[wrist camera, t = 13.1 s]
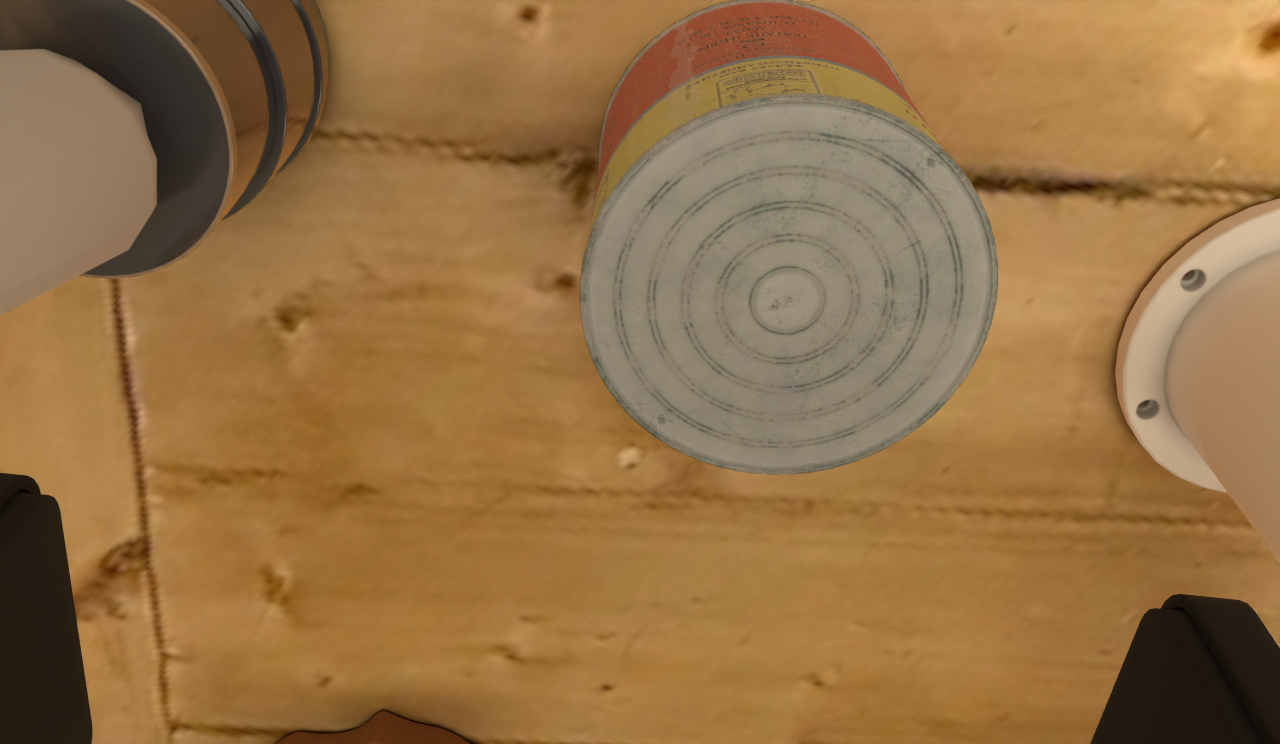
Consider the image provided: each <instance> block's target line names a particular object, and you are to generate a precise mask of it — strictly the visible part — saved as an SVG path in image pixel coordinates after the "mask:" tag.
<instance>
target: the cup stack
mask: <svg viewBox="0 0 1280 744" xmlns="http://www.w3.org/2000/svg"><path fill="white" fill-rule="evenodd" d="M27 49H45V50H48V51H51V52H54V53H56V54H59V55H62V56H65V57H67V58H70V59H73V60H76V61H78V62H80V63H81V64H83V65H84V66H86V67H87V68H89V69H90V70H92V71H94V72H96V73H97V74H98V75H100V76H101V77H103V78H104V79H105V80H107V81H108V82H109V83H111V84H112V85H114V86H115V87H117V88H118V89H120V90H121V91H123V92H124V93H126V94H127V95H129V96H130V97H132V98H133V99H135V100H136V101H138V102H139V103H141V107H142V112H143V116H144V121H145V126H146V130H147V135H148V138H149V141H150V143H151V146H152V148H153V150H154V153H155V155H156V158H157V205H156V207H155V209H154V210H153V212H152V214H151V216H150V217H149V219H148V220H147V222H146V223H145V225H144V227H143V228H142V230H141V231H140V233H139V234H138V236H137V237H136V239H135V241H134V242H133V244H132V245H131V247H130V248H129V250H127V251H125V252H123V253H121V254H120V255H118V256H116V257H114V258H112V259H110V260H108V261H106V262H104V263H102V264H100V265H98V266H96V267H95V268H93V269H91V270H89V271H87V272H85V273H83V274H81V275H79V276H85V277H92V278H112V279H114V278H126V277H135V276H139V275H144V274H148V273H152V272H155V271H157V270H160V269H163V268H165V267H168V266H170V265H172V264H173V263H175V262H177V261H179V260H181V259H183V258H184V257H185V256H187V255H188V254H189V253H190V252H192V251H193V250H194V249H196V248H197V247H198V246H199V245H200V244H201V243H202V242H203V241H204V240H205V238H206V237H207V236H208V235H209V234H210V233H211V232H212V231H213V229H214V228H215V227H216V226H217V225H218V224H219V222H220V221H222V220H224V219H226V218H228V217H230V216H232V215H233V214H235V213H237V212H238V211H239V210H241V209H242V208H243V207H245V206H246V205H247V204H249V203H250V202H251V201H252V200H253V199H254V198H255V197H256V195H257V194H258V193H259V192H260V191H261V190H262V189H263V188H264V187H265V186H266V184H267V183H268V182H269V181H270V180H271V179H272V178H273V177H274V176H275V175H277V174H278V173H279V172H281V171H282V170H283V169H285V168H286V167H287V166H288V165H289V164H290V163H291V162H292V161H293V160H294V159H295V158H296V156H297V155H298V154H299V153H300V152H301V151H302V149H303V148H304V147H305V145H306V144H307V142H308V141H309V139H310V138H311V137H312V135H313V133H314V131H315V129H316V127H317V125H318V123H319V120H320V117H321V114H322V111H323V108H324V104H325V98H326V92H327V84H328V78H329V63H330V57H329V46H328V39H327V35H326V30H325V26H324V23H323V20H322V17H321V14H320V12H319V9H318V7H317V5H316V2H315V0H0V50H27Z"/></svg>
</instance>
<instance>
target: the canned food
mask: <svg viewBox="0 0 1280 744" xmlns="http://www.w3.org/2000/svg"><path fill="white" fill-rule="evenodd" d="M997 289H998V260H997V252H996V245H995V240H994V236H993V232H992V227H991V225H990V222H989V219H988V216H987V213H986V210H985V208H984V206H983V204H982V202H981V200H980V198H979V196H978V194H977V192H976V190H975V189H974V187H973V186H972V184H971V182H970V181H969V179H968V178H967V176H966V175H965V173H964V172H963V171H962V169H961V168H960V167H959V166H958V165H957V163H956V162H955V161H954V160H953V158H952V157H951V156H950V155H949V154H948V153H947V152H946V151H945V150H944V149H943V147H942V146H941V144H940V143H939V141H938V140H937V138H936V137H935V135H934V134H933V132H932V131H931V129H930V128H929V126H928V125H927V123H926V122H925V120H924V119H923V117H922V116H921V114H920V113H919V111H918V110H917V108H916V107H915V105H914V104H913V102H912V101H911V99H910V98H909V96H908V95H907V93H906V92H905V90H904V87H903V85H902V83H901V81H900V79H899V77H898V75H897V73H896V72H895V70H894V69H893V67H892V66H891V64H890V62H889V61H888V59H887V58H886V57H885V56H884V54H883V53H882V52H881V51H880V49H879V48H878V47H877V46H876V45H875V44H874V43H873V42H872V41H871V40H870V39H869V38H868V37H867V36H866V35H864V34H863V33H862V32H861V31H859V30H858V29H857V28H856V27H854V26H853V25H851V24H850V23H848V22H847V21H845V20H844V19H842V18H840V17H838V16H836V15H834V14H832V13H830V12H828V11H826V10H823V9H821V8H818V7H815V6H813V5H809V4H806V3H802V2H798V1H793V0H734V1H729V2H725V3H721V4H717V5H713V6H711V7H708V8H705V9H702V10H700V11H697V12H695V13H693V14H691V15H689V16H687V17H685V18H683V19H681V20H680V21H678V22H676V23H675V24H673V25H671V26H670V27H669V28H667V29H666V30H665V31H663V32H662V33H661V34H659V35H658V36H657V37H656V38H654V39H653V40H652V41H651V42H650V43H649V44H648V45H647V46H646V47H645V48H644V49H643V50H642V51H641V52H640V53H639V54H638V55H637V57H636V58H635V59H634V60H633V61H632V63H631V64H630V66H629V67H628V68H627V70H626V71H625V72H624V74H623V76H622V77H621V79H620V81H619V83H618V84H617V86H616V88H615V90H614V93H613V95H612V97H611V99H610V102H609V105H608V107H607V110H606V113H605V117H604V121H603V125H602V130H601V137H600V145H599V172H598V179H597V186H596V193H595V201H594V208H593V215H592V223H591V230H590V235H589V238H588V241H587V245H586V249H585V253H584V257H583V262H582V269H581V276H580V294H579V302H580V314H581V322H582V327H583V332H584V337H585V340H586V343H587V347H588V350H589V353H590V356H591V358H592V360H593V363H594V365H595V367H596V370H597V371H598V373H599V375H600V377H601V379H602V380H603V382H604V384H605V386H606V387H607V389H608V390H609V391H610V393H611V394H612V396H613V397H614V398H615V400H616V401H617V402H618V403H619V405H620V406H621V407H622V408H623V409H624V410H625V411H626V413H627V414H628V415H629V416H630V417H631V418H632V419H634V420H635V421H636V422H637V423H638V424H639V425H640V426H641V427H642V428H644V429H645V430H646V431H647V432H649V433H650V434H651V435H653V436H654V437H655V438H657V439H658V440H660V441H662V442H663V443H665V444H666V445H668V446H669V447H671V448H673V449H675V450H677V451H679V452H681V453H683V454H685V455H687V456H689V457H692V458H694V459H697V460H699V461H702V462H704V463H708V464H711V465H714V466H717V467H720V468H725V469H730V470H734V471H739V472H746V473H754V474H769V475H786V474H801V473H810V472H816V471H821V470H826V469H832V468H835V467H839V466H842V465H846V464H849V463H852V462H855V461H858V460H860V459H863V458H866V457H868V456H871V455H873V454H875V453H877V452H879V451H881V450H883V449H886V448H887V447H889V446H891V445H893V444H894V443H896V442H898V441H899V440H901V439H903V438H904V437H906V436H907V435H909V434H910V433H912V432H913V431H914V430H916V429H917V428H919V427H920V426H921V425H922V424H923V423H925V422H926V421H927V420H928V419H930V418H931V417H932V416H933V415H934V414H935V413H936V412H937V411H938V410H939V409H940V408H941V407H942V406H943V405H944V404H945V403H946V402H947V401H948V400H949V399H950V398H951V396H952V395H953V394H954V393H955V392H956V390H957V389H958V388H959V387H960V385H961V384H962V382H963V381H964V379H965V378H966V377H967V375H968V374H969V372H970V371H971V369H972V367H973V365H974V363H975V362H976V360H977V358H978V356H979V354H980V352H981V350H982V347H983V345H984V343H985V341H986V338H987V335H988V332H989V329H990V326H991V323H992V319H993V315H994V310H995V305H996V299H997Z"/></svg>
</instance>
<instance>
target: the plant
mask: <svg viewBox="0 0 1280 744" xmlns="http://www.w3.org/2000/svg"><path fill="white" fill-rule="evenodd" d="M275 744H471V743H469V742H467V741H465V740H464V739H463V738H461V737H459V736H457V735H455V734H453V733H451V732H449V731H447V730H445V729H442V728H439V727H434V726H429V725H424V724H419V723H415V722H412V721H409V720H406V719H404V718H401V717H398V716H396V715H394V714H392V713H390V712H387V711H381V712H379V713H377V714H376V715H375V716H374V717H373V718H371V719H370V720H369V721H368V722H367V723H366V724H364V725H363V726H361V727H359V728H356V729H354V730H351V731H347V732H342V733H332V734H317V733H309V732H296V733H293V734H291V735H289V736H287V737H285V738H283V739H281V740H279V741H278V742H276V743H275Z"/></svg>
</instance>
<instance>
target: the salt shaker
mask: <svg viewBox="0 0 1280 744" xmlns="http://www.w3.org/2000/svg"><path fill="white" fill-rule="evenodd" d="M156 205H157V158H156V155H155V153H154V150H153V148H152V146H151V143H150V141H149V138H148V135H147V130H146V126H145V121H144V116H143V112H142V107H141V103H139V102H138V101H136V100H135V99H133V98H132V97H130V96H129V95H127V94H126V93H124V92H123V91H121V90H120V89H118V88H117V87H115V86H114V85H112V84H111V83H109V82H108V81H107V80H105V79H104V78H103V77H101V76H100V75H98V74H97V73H96V72H94V71H92V70H90V69H89V68H87V67H86V66H84V65H83V64H81V63H80V62H78V61H76V60H73V59H70V58H67V57H65V56H62V55H59V54H56V53H54V52H51V51H48V50H45V49H27V50H0V315H2V314H4V313H6V312H8V311H10V310H12V309H14V308H16V307H18V306H20V305H22V304H24V303H26V302H28V301H30V300H32V299H34V298H36V297H38V296H40V295H41V294H43V293H45V292H47V291H49V290H51V289H53V288H55V287H57V286H59V285H61V284H63V283H65V282H67V281H69V280H71V279H73V278H75V277H77V276H79V275H81V274H83V273H85V272H87V271H89V270H91V269H93V268H95V267H96V266H98V265H100V264H102V263H104V262H106V261H108V260H110V259H112V258H114V257H116V256H118V255H120V254H121V253H123V252H125V251H127V250H129V248H130V247H131V245H132V244H133V242H134V241H135V239H136V237H137V236H138V234H139V233H140V231H141V230H142V228H143V227H144V225H145V223H146V222H147V220H148V219H149V217H150V216H151V214H152V212H153V210H154V209H155V207H156Z"/></svg>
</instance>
